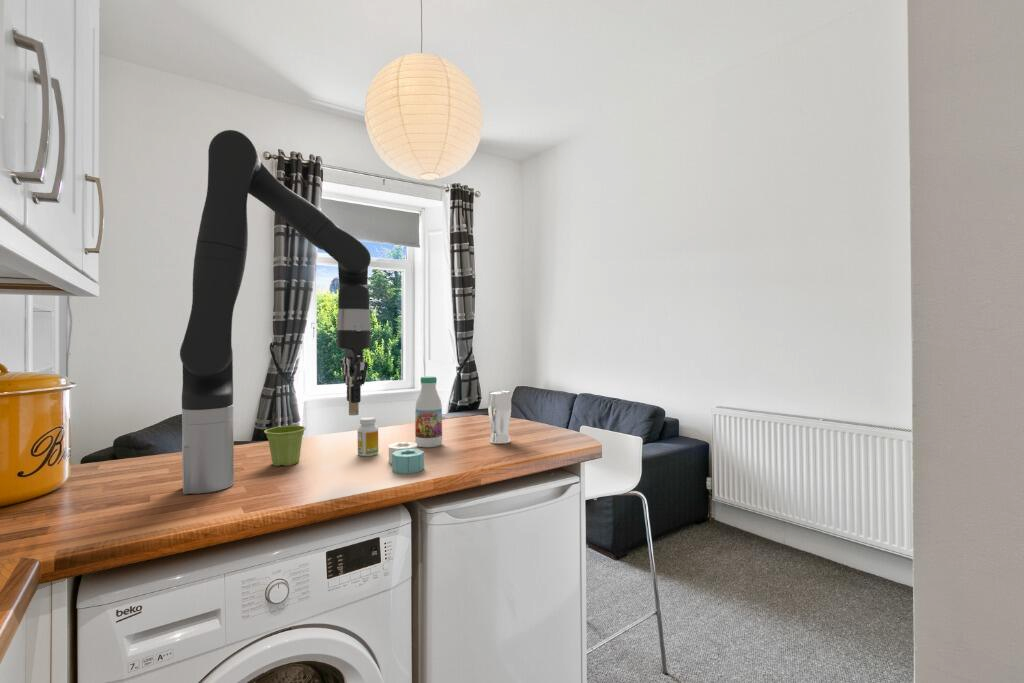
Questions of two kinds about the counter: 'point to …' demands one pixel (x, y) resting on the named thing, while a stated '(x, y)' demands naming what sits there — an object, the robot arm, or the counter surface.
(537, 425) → the counter surface
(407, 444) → the cream bead
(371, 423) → the supplement bottle
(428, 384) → the milk bottle
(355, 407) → the needle dowel
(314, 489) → the counter surface
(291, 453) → the plant pot
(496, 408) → the beer glass
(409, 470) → the teal bead
